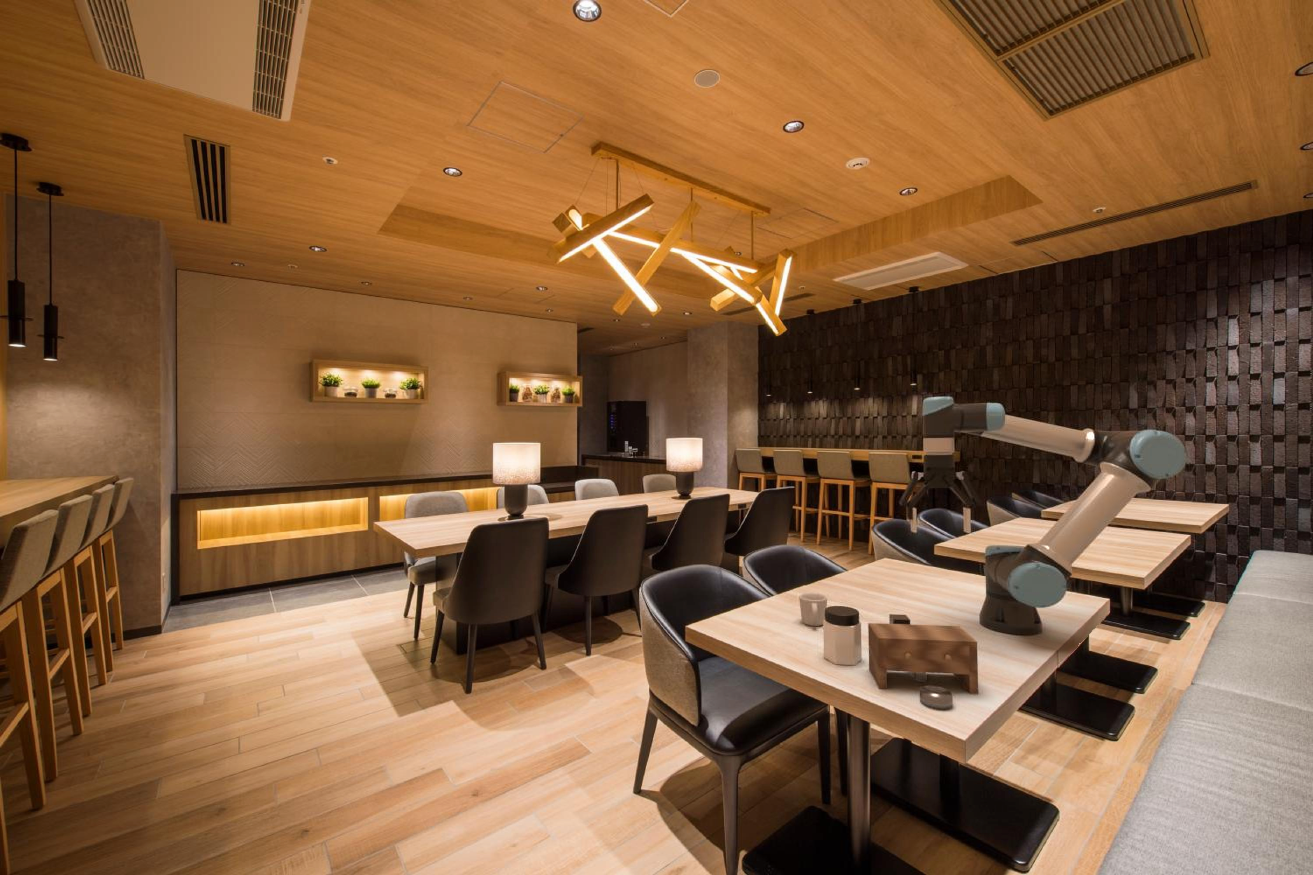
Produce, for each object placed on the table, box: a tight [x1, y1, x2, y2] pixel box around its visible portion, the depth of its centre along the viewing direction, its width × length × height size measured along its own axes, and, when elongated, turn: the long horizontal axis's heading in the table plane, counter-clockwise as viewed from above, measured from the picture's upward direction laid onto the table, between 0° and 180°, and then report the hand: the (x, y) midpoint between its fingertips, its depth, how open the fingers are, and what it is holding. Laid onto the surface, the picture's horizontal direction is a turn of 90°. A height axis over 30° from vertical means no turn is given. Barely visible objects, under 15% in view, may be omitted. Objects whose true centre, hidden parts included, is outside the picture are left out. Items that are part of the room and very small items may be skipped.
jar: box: [822, 605, 863, 666], centre depth 137 cm, size 9×8×12 cm
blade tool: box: [888, 613, 928, 682], centre depth 133 cm, size 4×19×9 cm, turn 171°
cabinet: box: [867, 622, 979, 695], centre depth 124 cm, size 20×11×11 cm, turn 81°
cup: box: [798, 592, 828, 627], centre depth 163 cm, size 11×8×8 cm
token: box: [919, 685, 954, 711], centre depth 114 cm, size 6×6×2 cm
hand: (940, 532), depth 151 cm, fingers open, 13 cm apart
